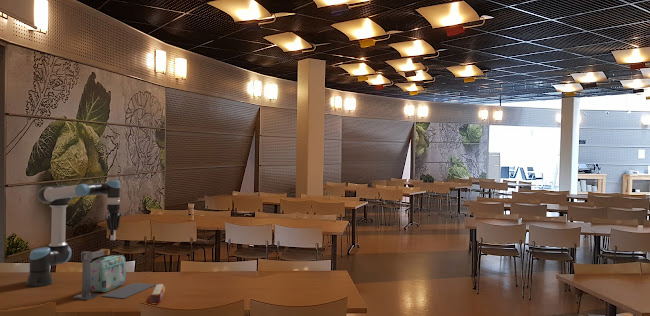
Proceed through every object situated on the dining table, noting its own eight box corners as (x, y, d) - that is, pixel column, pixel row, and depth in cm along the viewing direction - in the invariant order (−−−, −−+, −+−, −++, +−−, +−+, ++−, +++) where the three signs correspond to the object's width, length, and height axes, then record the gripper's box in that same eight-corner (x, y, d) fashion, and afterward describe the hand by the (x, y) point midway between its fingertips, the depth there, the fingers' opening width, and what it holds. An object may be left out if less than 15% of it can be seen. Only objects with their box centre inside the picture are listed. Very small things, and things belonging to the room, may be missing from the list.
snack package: (160, 304, 280) (160, 292, 280) (148, 304, 279) (149, 293, 279) (165, 294, 301) (165, 283, 301) (154, 294, 300) (154, 283, 300)
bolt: (81, 259, 290) (81, 254, 290) (101, 253, 308) (101, 248, 308) (89, 260, 289) (89, 254, 289) (109, 254, 306) (109, 249, 306)
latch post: (72, 298, 287) (73, 252, 287) (84, 294, 296) (85, 249, 296) (86, 300, 284) (87, 254, 284) (98, 295, 294) (99, 250, 294)
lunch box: (101, 295, 296) (102, 260, 296) (87, 293, 298) (87, 259, 298) (127, 284, 322) (128, 252, 322) (114, 283, 324) (114, 251, 324)
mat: (101, 296, 292) (101, 295, 292) (134, 283, 323) (134, 282, 323) (124, 298, 289) (124, 297, 289) (155, 285, 320) (155, 284, 320)
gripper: (111, 205, 306) (111, 241, 306) (124, 203, 319) (124, 238, 319) (101, 204, 308) (101, 241, 308) (115, 202, 320) (114, 238, 320)
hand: (113, 239), depth 313 cm, fingers closed
